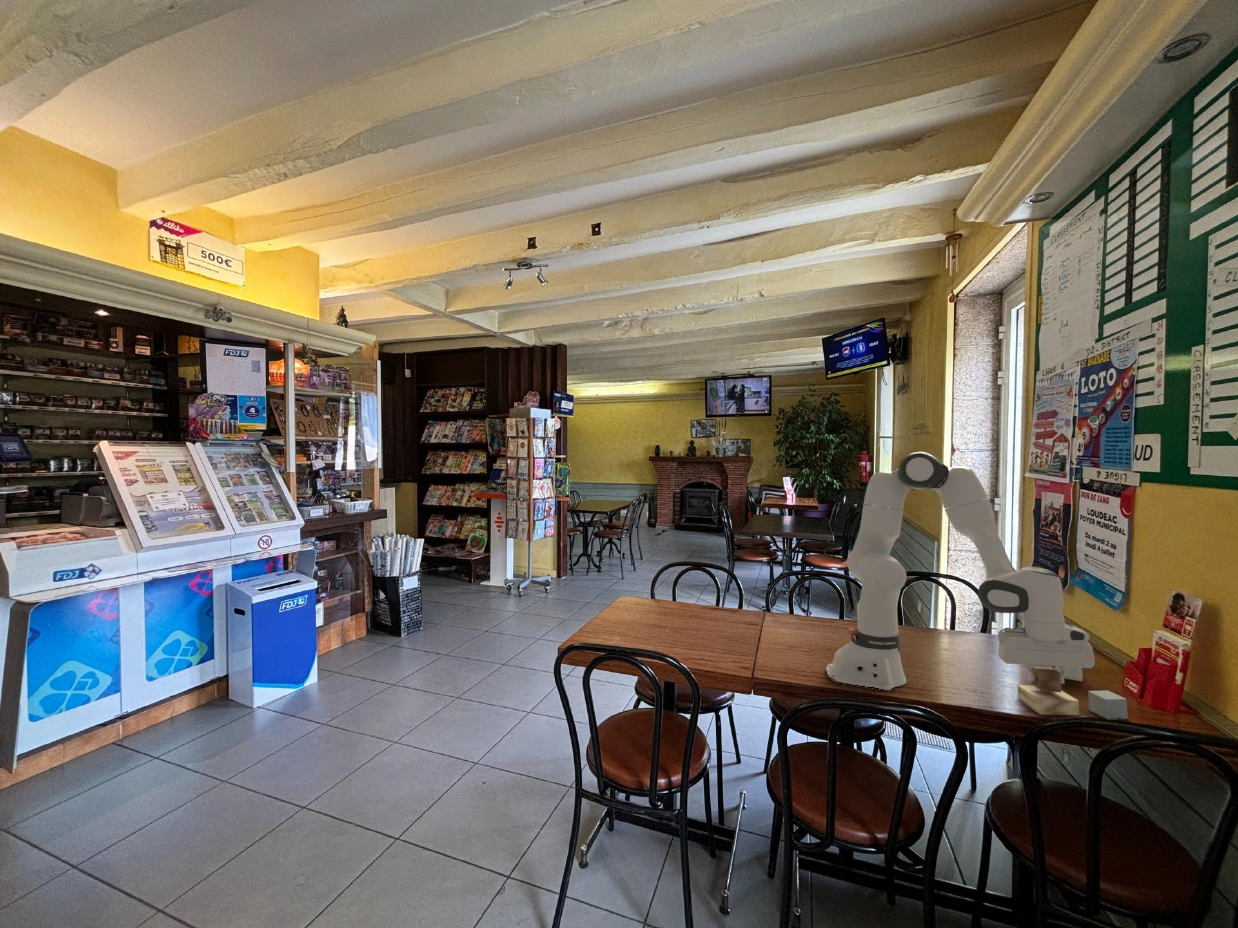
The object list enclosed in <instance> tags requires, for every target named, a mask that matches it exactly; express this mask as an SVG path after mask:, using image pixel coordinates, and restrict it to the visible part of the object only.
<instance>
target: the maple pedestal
mask: <svg viewBox="0 0 1238 928" xmlns="http://www.w3.org/2000/svg"><path fill="white" fill-rule="evenodd" d="M1017 699H1018V700H1019V701H1021V702H1023V703H1024V704H1025V705H1026V706H1028V707H1029V708H1031V710H1034V711H1035V712H1036V713H1038V714H1039V715H1051V716H1052V715H1055V716H1056V715H1058V716H1080V705H1079V703H1080V701H1079V700H1078V699H1077V698H1075V697H1074V696H1072V695H1070V694H1068V693H1066V692H1065V691H1063V690H1062V689H1061V692H1047V691H1040V690H1039V689H1038V688H1036V687H1035V686H1034V685H1033V684H1029V685H1024V684H1018V685H1017Z"/></svg>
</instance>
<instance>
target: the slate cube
mask: <svg viewBox="0 0 1238 928" xmlns="http://www.w3.org/2000/svg"><path fill="white" fill-rule="evenodd" d="M1087 693H1088V697H1087V698H1088V709H1089V711H1090V712H1092V713H1094V714H1095V715H1098V716H1100V717H1102V718H1104V719H1105V718H1106V720H1119V719H1118V718H1121V719H1120V720H1129V719H1128V717H1129V716H1128V704H1127V703H1128V700H1127V698H1125V697H1123V696H1121V695H1119V694H1116V693H1114V692H1113V691H1110V690H1108V689H1107V690H1088V691H1087Z"/></svg>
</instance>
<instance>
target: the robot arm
mask: <svg viewBox="0 0 1238 928" xmlns="http://www.w3.org/2000/svg"><path fill="white" fill-rule="evenodd" d="M927 489H930V490H933V491H934V492H935V493H936V494H938V496H939V498H940V500H941V503H942V507H943V509H944V511H945V514H946V516H947V518H948V520H949V522H950V524H951V525H952V527H953V529H954V530H955V531H956V532H958V533H959V534H962V535H964V536H965V537H967V538H968V539H969V540H970V541H971V542H972V543H973V544H974V546H975V547H976V550H977V552H978V554H979V557H980V559H981V562H982V564H983V565H984V568H985V571H986V579H985V580H983V582H982V583H981V584H980V585H979V587H978V590H977V597H978V600H979V602H980V603H981V605H982V606H984V607H985V608H986V609H988V611H991V612H995V613H998V614H1018V613H1019V614H1021V627H1019V628H1018V627H1012V628H1011V627H1004V628H1003V629H1000V630H999V631H998V632H997V640H998V657H999V659H1001V661H1002V662H1004V663H1005V664H1009V665H1022V667H1023V669H1024V670H1025V672H1026V673H1027V679H1028V681H1030V682H1032V681H1035V682H1037V681H1038V680H1037V675H1036V674H1035V673H1032V672H1031V669H1032V666H1050V667H1055V666H1057V667H1059V668H1060V671H1059V673H1060V677H1061V684H1065V678H1064V677H1065V676H1066V675H1067V674H1068V672H1069V667H1075V668H1082V669H1092V668H1093V667H1094V666H1095V663H1096V662H1095V655H1094V650H1093V649H1094V648H1093V646H1092V644H1091V643H1090V642H1089V640H1090V634H1089V633H1088V632H1087V631H1084V630H1082V629H1081V628H1078V627H1077V626H1074V625H1071V624H1068V623H1066V622H1065V620H1066V619H1065V617H1064V615H1063V608H1064V605H1065V603H1064V601H1065V600H1064V591H1063V585H1062V581H1061V578H1060V577H1059V575H1057V574H1056V573H1055V572H1054V571H1052V570H1049V569H1046V568H1042V567H1039V566H1031V565H1029V566H1024V567H1022V568H1020V569H1018V570H1016V569H1015V567H1014V566H1013V564H1012V563H1011V561H1010V559H1009V557H1008V555H1007V552H1006V549H1005V547H1004V546H1003V543H1002V541H1001V539H1000V536H999V533H998V529H997V525H996V524H997V523H996V519H995V514H994V512H993V507H992V505H991V502H990V499H989V497H988V495H987V492H986V491H985V488H984V486H983V485H982V483H981V481H980V479H979V478H978V476H977V475H976V473H975V472H974V470H973V469H972V468H969V467H967V466H965V465H964V466H962V465H956V466H950V467H948V466H947V465H946V464H944V463H943V462H941V460H939V459H938V458H937V457H935V456H934V455H932V454H931V453H929V452H924V451H915V452H912V453H909V454H906V456H904V457H903V458H902V459H901V461H900V463H899V465H898V467H897V469H895V470H893V471H887V470H886V471H878V472H875V473H873V474H872V475H871V477H870V478H869V481H868V484H867V486H866V491H865V494H864V499H863V505H862V507H863V508H862V511H861V512H862V513H861V520H860V527H859V531H858V533H857V537H856V539H855V542H854V545H853V548H852V551H850V553H849V554H848V556H847V558H846V559H847V560H846V564H847V566H846V567H847V568H848V570H849V572H850V574H851V575H852V576H853V577H854V579H856V580H858V581H860V583H861V592H860V598H859V601H858V602H857V605H856V614H857V615H856V617H857V628H856V629H854V628H852V627H848V629H847V633H848V635H849V636H850V639H851V641H849V642H848V643H846V644H845V645H844V646H842V647H840V648H839V649H837V650H836V651H835V653H834V656H833V661H832V663H828V665H826V667H825V668H826V669H825V672H826V671H827V674H828V675H829V676H830V677H831V676H834V677H831V678H833V679H835V680H836V681H839V682H842V683H848V684H853V685H859V686H858V687H860V686H865V687H864V688H867V687H875V688H879V689H878V690H881V689H883V690H882V691H891V690H892V688H893V689H894V688H895V687H901V686H903V685H906V683H907V678H906V675H905V672H904V668H903V664H902V660H901V648H902V647H901V645H902V644H901V636H900V633H899V627H898V605H899V604H898V602H899V598H900V593H901V589H902V588H903V587H904V586H905V584H906V582H907V571H906V569H905V567H904V566H903V565H902V564H901V563H900V562H899V561H898V560H897V559H896V558H895V557H893V556H891V555H890V554H891V551H892V548H893V547H894V544H895V542H896V540H897V539H898V538H899V537H900V535H901V529H902V521H903V517H904V516H903V515H904V506H905V499H906V496H907V494H908V492H910V491H914V490H918V491H919V490H927ZM827 674H826V675H827ZM853 685H852V686H853Z"/></svg>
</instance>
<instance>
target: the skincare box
mask: <svg viewBox="0 0 1238 928" xmlns="http://www.w3.org/2000/svg"><path fill="white" fill-rule="evenodd" d="M1054 669H1055V670H1057V671H1058V672H1059V671H1060V668H1059V667H1057V666H1054ZM1065 679H1066V680H1069V681H1077V682H1083V668H1075V667H1069V672H1068V674H1067V675H1066V676H1065V677H1064V680H1065Z"/></svg>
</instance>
